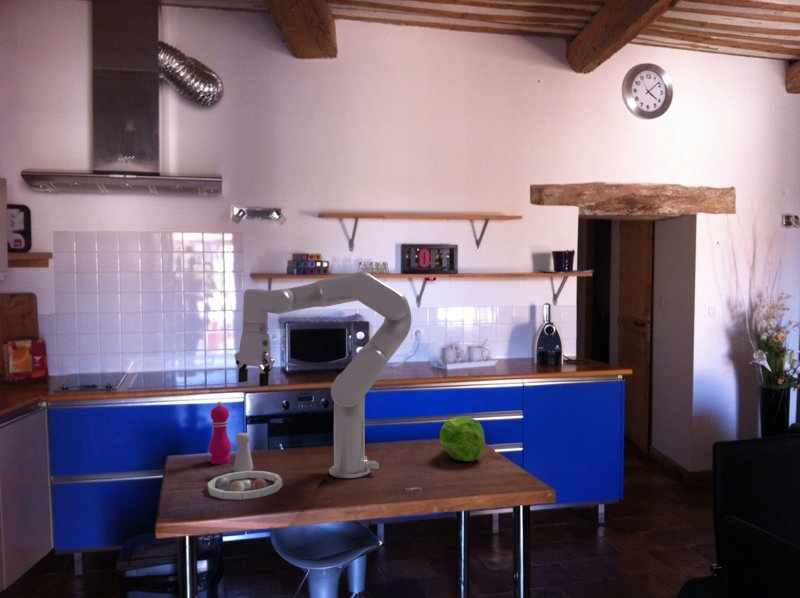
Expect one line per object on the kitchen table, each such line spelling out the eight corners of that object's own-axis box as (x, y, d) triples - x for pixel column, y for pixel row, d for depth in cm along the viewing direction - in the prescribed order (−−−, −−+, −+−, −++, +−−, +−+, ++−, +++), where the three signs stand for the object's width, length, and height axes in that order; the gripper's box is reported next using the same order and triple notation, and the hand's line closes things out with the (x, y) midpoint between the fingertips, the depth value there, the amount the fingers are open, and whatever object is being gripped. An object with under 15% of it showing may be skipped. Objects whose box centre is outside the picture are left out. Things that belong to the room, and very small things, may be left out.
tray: (289, 482, 193) (289, 472, 193) (268, 505, 173) (268, 493, 173) (224, 480, 195) (224, 470, 195) (196, 502, 175) (196, 491, 175)
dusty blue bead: (234, 481, 183) (223, 472, 184) (229, 485, 179) (218, 476, 180) (225, 492, 183) (215, 483, 184) (220, 496, 179) (209, 487, 180)
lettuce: (428, 457, 228) (470, 461, 231) (444, 460, 207) (490, 464, 209) (432, 415, 231) (473, 419, 234) (447, 413, 210) (492, 417, 212)
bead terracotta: (261, 494, 182) (271, 485, 182) (255, 497, 178) (267, 489, 178) (252, 482, 183) (263, 473, 182) (247, 485, 179) (258, 477, 178)
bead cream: (247, 488, 181) (245, 477, 178) (243, 499, 177) (240, 489, 175) (233, 487, 181) (231, 477, 179) (229, 498, 178) (226, 488, 176)
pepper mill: (236, 460, 217) (235, 400, 216) (221, 465, 210) (221, 404, 210) (219, 457, 220) (218, 399, 219) (204, 463, 213) (203, 402, 213)
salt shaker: (255, 473, 202) (255, 431, 202) (249, 478, 197) (249, 435, 196) (237, 472, 203) (237, 431, 203) (231, 478, 197) (230, 435, 197)
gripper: (283, 330, 199) (281, 386, 199) (246, 326, 209) (244, 379, 210) (264, 331, 193) (262, 388, 193) (227, 327, 203) (225, 381, 204)
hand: (253, 383), depth 201 cm, fingers open, 9 cm apart
